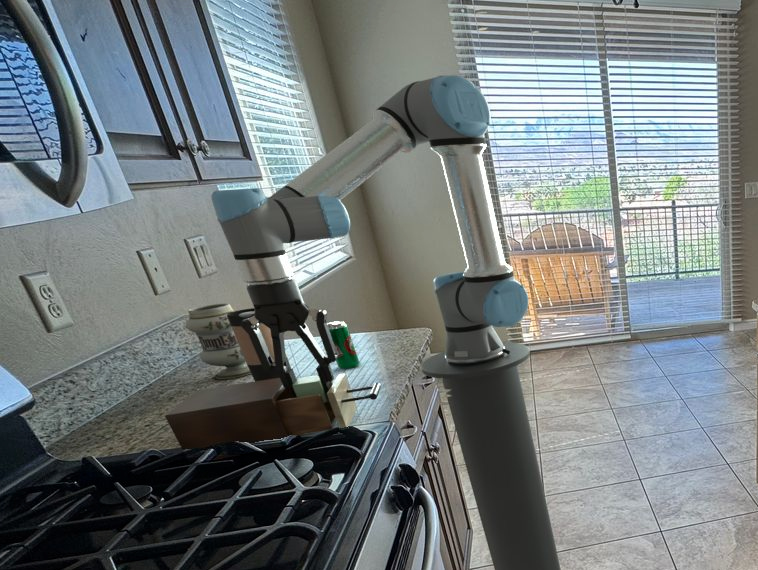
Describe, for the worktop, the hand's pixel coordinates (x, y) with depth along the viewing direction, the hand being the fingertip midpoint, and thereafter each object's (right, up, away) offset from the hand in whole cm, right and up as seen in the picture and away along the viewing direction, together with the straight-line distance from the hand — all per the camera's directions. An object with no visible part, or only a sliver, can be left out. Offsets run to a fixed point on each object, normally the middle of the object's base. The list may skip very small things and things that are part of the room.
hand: (315, 399), depth 112 cm
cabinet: (-11, -8, -2) cm, 14 cm away
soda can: (-19, +11, +40) cm, 46 cm away
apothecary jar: (-49, +9, +40) cm, 64 cm away
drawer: (+1, -5, +2) cm, 5 cm away
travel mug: (-24, +2, +22) cm, 33 cm away
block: (0, 0, 0) cm, 0 cm away
